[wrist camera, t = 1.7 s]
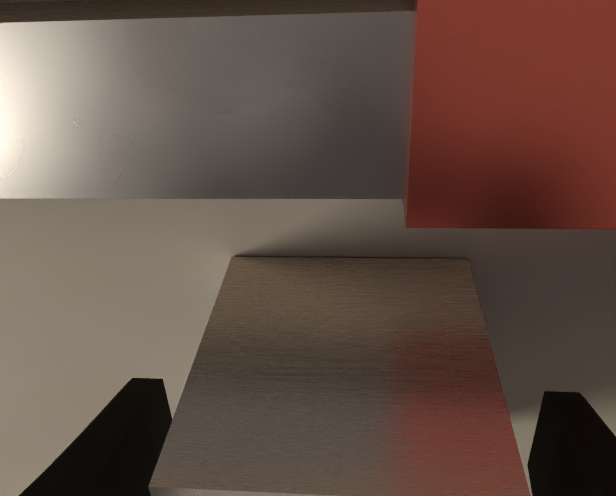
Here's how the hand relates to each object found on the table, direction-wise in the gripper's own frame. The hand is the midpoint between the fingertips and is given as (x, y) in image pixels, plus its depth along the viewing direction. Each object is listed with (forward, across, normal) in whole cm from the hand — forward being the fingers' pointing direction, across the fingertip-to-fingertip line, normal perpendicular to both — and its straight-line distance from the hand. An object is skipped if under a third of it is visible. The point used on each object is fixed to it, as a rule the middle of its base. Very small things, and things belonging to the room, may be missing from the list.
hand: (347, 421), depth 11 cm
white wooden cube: (+2, 0, 0) cm, 2 cm away
